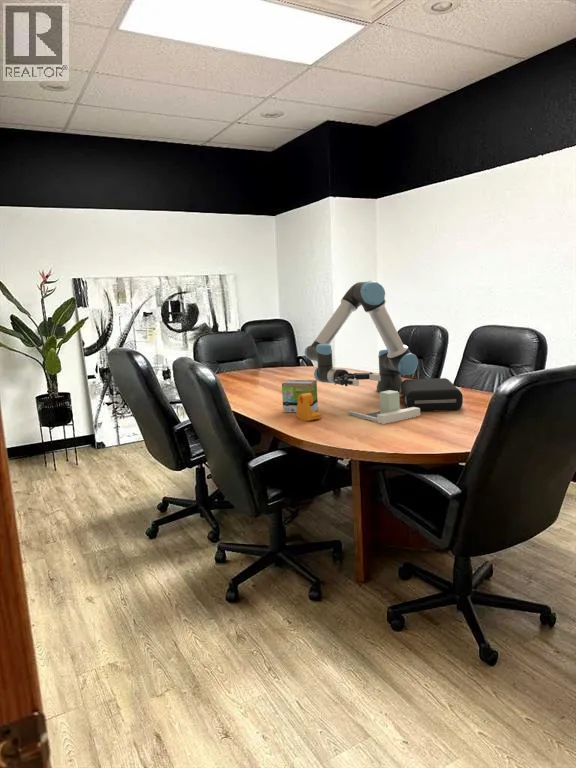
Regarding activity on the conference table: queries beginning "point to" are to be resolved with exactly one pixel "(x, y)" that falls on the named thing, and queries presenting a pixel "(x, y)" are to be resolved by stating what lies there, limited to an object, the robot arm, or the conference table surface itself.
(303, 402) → the bracket
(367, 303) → the robot arm
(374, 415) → the stop pad
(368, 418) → the track rails
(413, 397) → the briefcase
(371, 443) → the conference table surface
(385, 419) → the end stop
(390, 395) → the block
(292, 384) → the tea box
